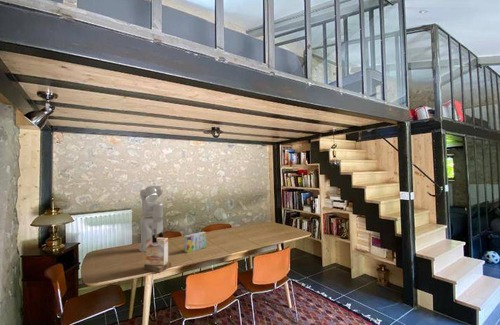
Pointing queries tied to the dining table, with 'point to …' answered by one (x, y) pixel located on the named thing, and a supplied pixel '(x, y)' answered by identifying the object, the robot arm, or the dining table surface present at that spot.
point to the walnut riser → (157, 267)
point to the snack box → (194, 241)
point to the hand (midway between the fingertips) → (157, 240)
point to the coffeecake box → (157, 251)
